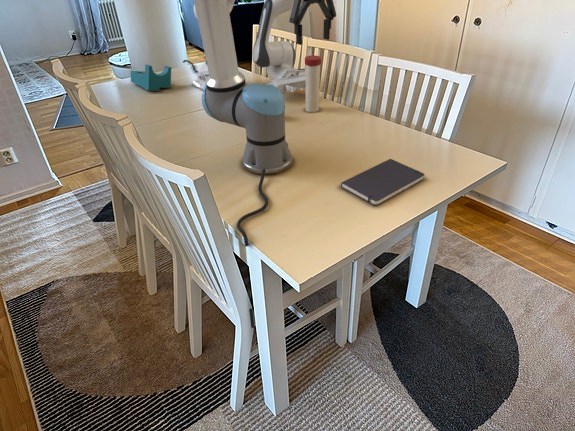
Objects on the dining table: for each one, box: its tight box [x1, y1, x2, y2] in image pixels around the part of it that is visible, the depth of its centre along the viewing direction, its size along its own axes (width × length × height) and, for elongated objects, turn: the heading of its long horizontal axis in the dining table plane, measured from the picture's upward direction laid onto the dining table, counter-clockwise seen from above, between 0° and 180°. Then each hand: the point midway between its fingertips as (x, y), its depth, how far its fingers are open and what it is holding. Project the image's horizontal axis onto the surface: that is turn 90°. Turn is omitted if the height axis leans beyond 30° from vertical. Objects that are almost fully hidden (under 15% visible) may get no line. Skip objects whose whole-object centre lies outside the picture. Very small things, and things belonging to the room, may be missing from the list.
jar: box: [304, 64, 321, 113], centre depth 156 cm, size 5×5×20 cm
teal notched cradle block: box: [130, 64, 172, 92], centre depth 188 cm, size 18×11×10 cm, turn 43°
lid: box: [304, 54, 322, 66], centre depth 151 cm, size 6×6×2 cm
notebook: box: [340, 158, 425, 206], centre depth 114 cm, size 13×2×21 cm
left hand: (304, 88), depth 163 cm, fingers open, 8 cm apart
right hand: (312, 41), depth 147 cm, fingers open, 11 cm apart
